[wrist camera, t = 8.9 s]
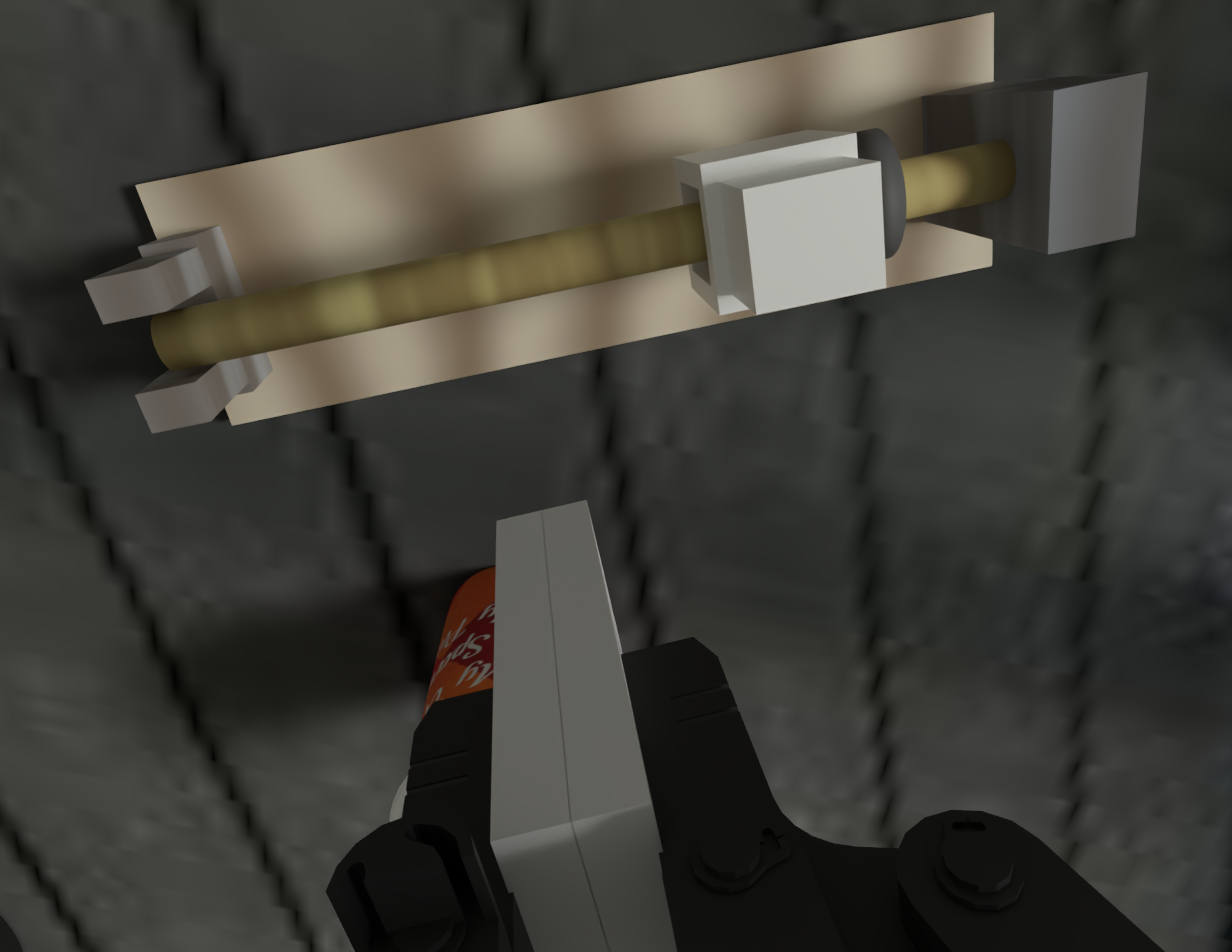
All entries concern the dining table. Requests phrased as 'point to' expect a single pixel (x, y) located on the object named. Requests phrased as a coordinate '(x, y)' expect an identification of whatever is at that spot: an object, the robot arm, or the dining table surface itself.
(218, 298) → the cord rig
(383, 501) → the dining table surface
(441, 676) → the coffee cup
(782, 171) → the sleeve
